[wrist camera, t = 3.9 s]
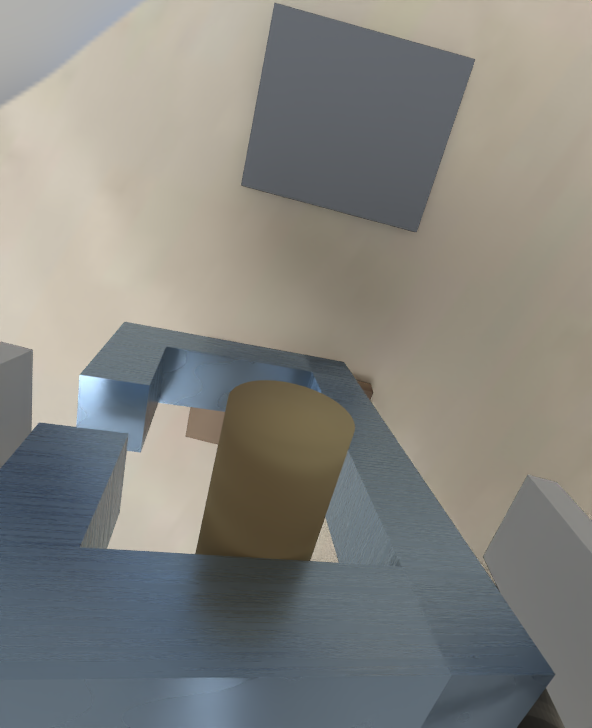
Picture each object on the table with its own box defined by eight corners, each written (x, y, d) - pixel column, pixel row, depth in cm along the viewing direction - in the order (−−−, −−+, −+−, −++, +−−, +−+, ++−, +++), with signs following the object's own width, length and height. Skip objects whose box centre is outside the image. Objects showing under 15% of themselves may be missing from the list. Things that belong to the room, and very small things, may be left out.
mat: (471, 63, 22) (475, 59, 21) (414, 231, 25) (416, 232, 24) (275, 8, 21) (274, 2, 21) (243, 186, 25) (241, 185, 24)
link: (343, 361, 15) (555, 674, 5) (329, 407, 16) (493, 758, 6) (124, 321, 14) (-181, 681, 4) (119, 374, 14) (-148, 800, 4)
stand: (403, 288, 26) (930, 729, 4) (342, 464, 31) (400, 1126, 8) (224, 241, 26) (-463, 392, 3) (191, 426, 31) (-175, 1008, 8)
